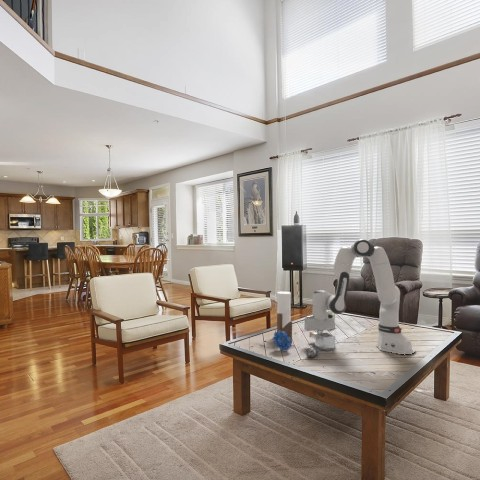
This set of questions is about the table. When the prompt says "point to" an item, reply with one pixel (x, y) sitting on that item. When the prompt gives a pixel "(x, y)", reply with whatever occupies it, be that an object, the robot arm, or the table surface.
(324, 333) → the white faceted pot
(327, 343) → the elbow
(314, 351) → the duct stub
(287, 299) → the cylinder container
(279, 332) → the grapes
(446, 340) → the table surface
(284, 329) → the wooden hammer
